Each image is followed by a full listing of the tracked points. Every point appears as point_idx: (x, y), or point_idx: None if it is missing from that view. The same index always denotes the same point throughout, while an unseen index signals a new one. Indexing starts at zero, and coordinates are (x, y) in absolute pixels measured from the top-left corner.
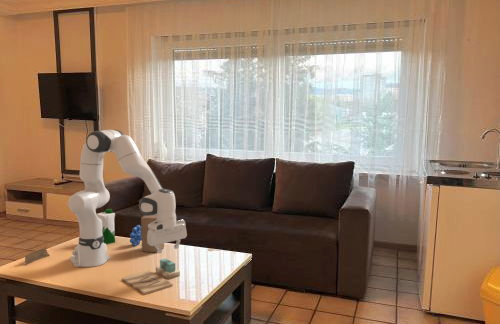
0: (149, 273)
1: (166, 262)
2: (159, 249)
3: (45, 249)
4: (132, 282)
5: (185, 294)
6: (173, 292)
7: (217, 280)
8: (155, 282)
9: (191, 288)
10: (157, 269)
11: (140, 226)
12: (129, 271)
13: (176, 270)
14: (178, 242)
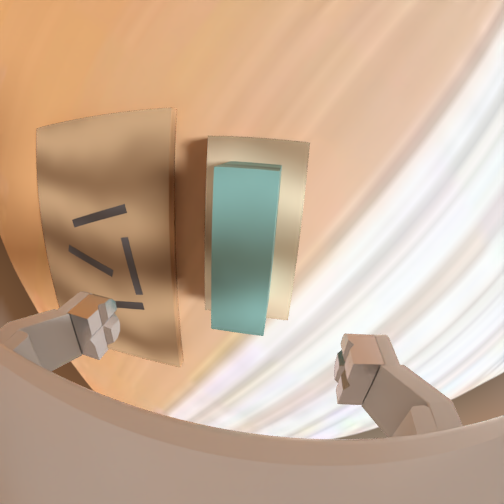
0: (147, 165)
1: (219, 273)
2: (72, 354)
3: None
4: (48, 218)
5: None
6: (160, 391)
7: (351, 427)
8: (122, 302)
9: (230, 415)
10: (209, 158)
11: None
12: (113, 33)
13: (283, 295)
14: (387, 434)
